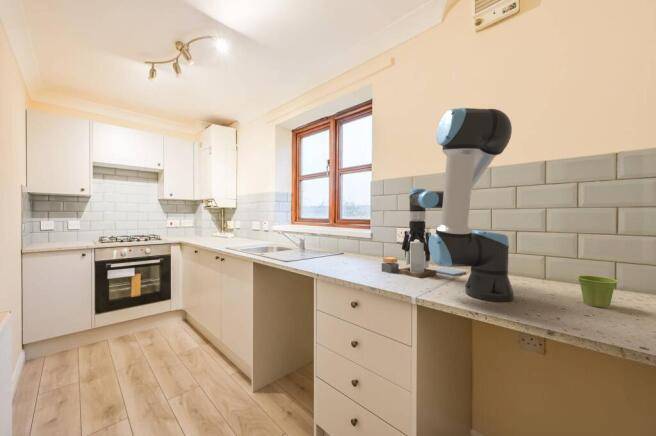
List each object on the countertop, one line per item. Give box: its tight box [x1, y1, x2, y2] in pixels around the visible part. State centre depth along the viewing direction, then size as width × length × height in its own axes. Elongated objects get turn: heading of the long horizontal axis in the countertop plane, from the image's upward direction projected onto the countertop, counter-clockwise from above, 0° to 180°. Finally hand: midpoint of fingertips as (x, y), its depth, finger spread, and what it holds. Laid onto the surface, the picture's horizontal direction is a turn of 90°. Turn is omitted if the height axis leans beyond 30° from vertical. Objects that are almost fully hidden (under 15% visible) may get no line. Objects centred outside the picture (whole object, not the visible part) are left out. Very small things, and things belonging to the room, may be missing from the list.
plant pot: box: [576, 275, 619, 309], centre depth 88 cm, size 9×9×9 cm
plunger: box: [382, 256, 398, 264], centre depth 139 cm, size 5×5×6 cm
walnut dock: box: [397, 266, 437, 279], centre depth 134 cm, size 12×13×2 cm
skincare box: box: [409, 241, 425, 273], centre depth 134 cm, size 8×7×16 cm
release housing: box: [381, 262, 400, 274], centre depth 139 cm, size 6×6×4 cm
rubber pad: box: [435, 267, 467, 277], centre depth 136 cm, size 11×11×1 cm
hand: (416, 265), depth 134 cm, fingers closed on skincare box, 10 cm apart
